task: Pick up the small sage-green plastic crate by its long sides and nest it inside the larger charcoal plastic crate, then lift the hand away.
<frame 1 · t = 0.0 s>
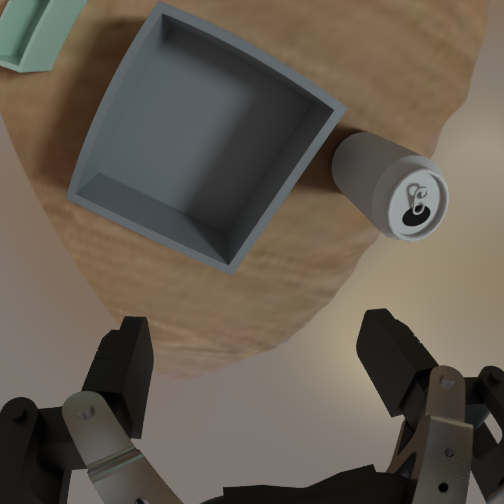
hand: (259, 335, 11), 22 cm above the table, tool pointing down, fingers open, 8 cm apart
can: (359, 163, 31), on the table
big crate: (200, 132, 27), on the table
small crate: (49, 26, 19), on the table
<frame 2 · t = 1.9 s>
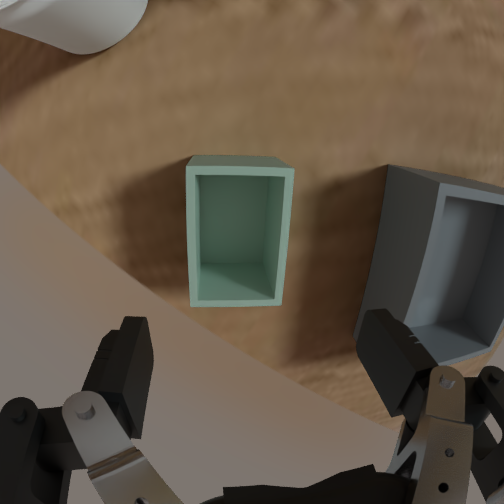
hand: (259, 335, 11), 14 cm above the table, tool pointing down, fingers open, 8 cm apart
white cylinder: (101, 11, 15), on the table
big crate: (436, 258, 28), on the table
small crate: (232, 213, 24), on the table
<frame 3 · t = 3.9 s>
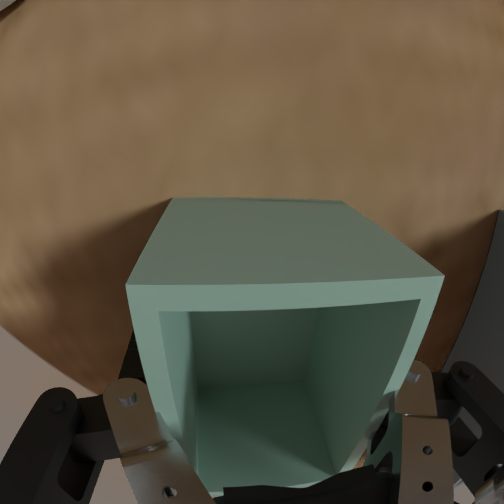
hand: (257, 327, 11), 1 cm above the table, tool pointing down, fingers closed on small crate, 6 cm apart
small crate: (254, 309, 12), on the table, touching gripper
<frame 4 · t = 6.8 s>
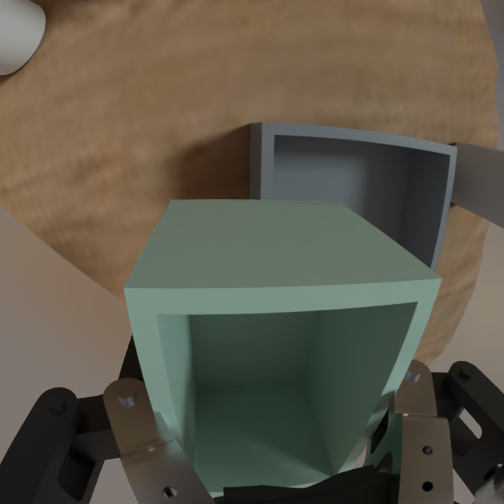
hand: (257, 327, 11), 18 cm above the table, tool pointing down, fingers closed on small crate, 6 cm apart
can: (457, 171, 29), on the table
white cylinder: (18, 39, 17), on the table
big crate: (334, 219, 29), on the table
small crate: (253, 310, 12), point 17 cm above the table, touching gripper
when the fingers open (3 cm above the table, at t = 10.1 s): small crate drops 1 cm, resting on big crate.
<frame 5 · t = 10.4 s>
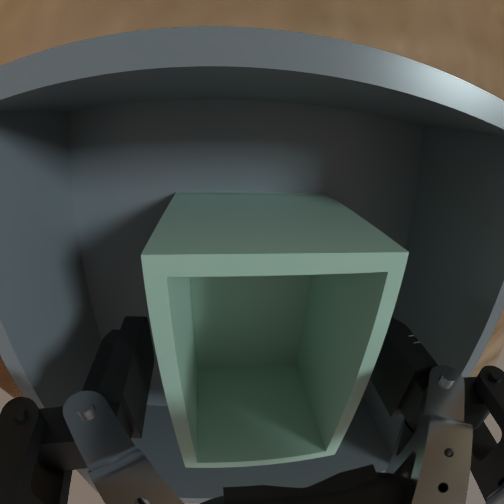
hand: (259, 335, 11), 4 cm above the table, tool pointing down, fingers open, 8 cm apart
big crate: (248, 283, 14), on the table
small crate: (249, 293, 13), point 1 cm above the table, touching big crate
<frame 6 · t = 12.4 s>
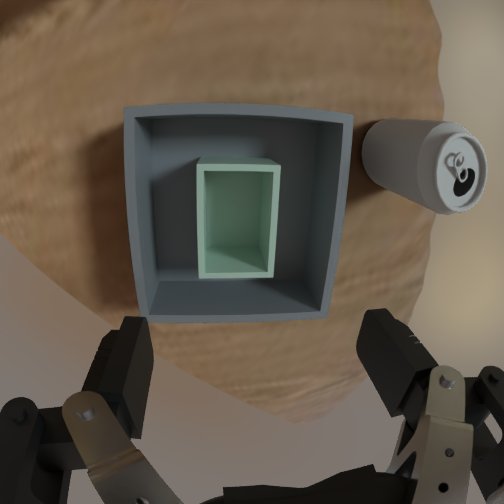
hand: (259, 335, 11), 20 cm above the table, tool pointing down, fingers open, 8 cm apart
can: (387, 152, 29), on the table
big crate: (232, 201, 29), on the table
small crate: (233, 204, 28), point 1 cm above the table, touching big crate
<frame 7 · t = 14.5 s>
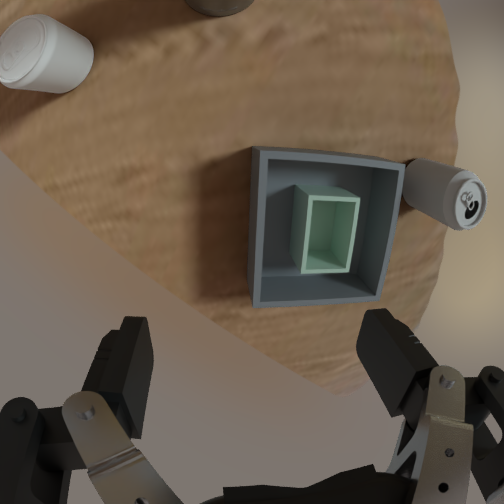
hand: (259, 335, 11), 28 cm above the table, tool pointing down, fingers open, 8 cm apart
can: (417, 182, 39), on the table
white cylinder: (68, 64, 27), on the table
big crate: (313, 217, 39), on the table
small crate: (314, 220, 38), point 1 cm above the table, touching big crate
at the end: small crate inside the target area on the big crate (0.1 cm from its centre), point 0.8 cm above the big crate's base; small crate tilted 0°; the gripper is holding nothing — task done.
